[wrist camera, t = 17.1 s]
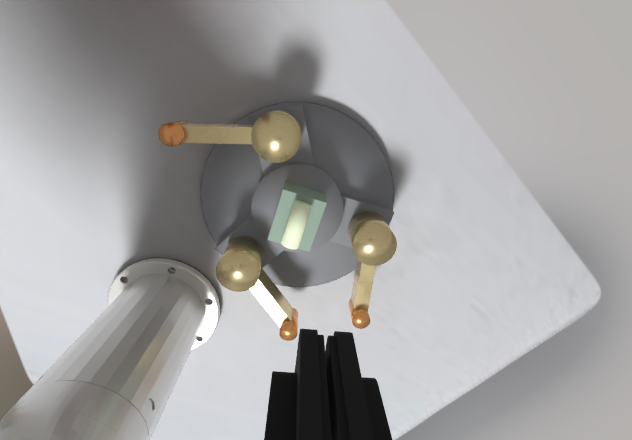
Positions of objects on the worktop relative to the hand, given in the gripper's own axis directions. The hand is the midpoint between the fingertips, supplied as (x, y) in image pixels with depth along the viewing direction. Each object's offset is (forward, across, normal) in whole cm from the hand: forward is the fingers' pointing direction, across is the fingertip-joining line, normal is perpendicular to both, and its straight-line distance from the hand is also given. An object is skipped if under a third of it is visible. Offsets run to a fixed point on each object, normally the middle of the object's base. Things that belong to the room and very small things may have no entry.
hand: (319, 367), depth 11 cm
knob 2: (+23, +4, +11) cm, 26 cm away
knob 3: (+23, -6, +8) cm, 25 cm away
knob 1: (+23, +7, -5) cm, 25 cm away
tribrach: (+25, +1, +2) cm, 25 cm away
